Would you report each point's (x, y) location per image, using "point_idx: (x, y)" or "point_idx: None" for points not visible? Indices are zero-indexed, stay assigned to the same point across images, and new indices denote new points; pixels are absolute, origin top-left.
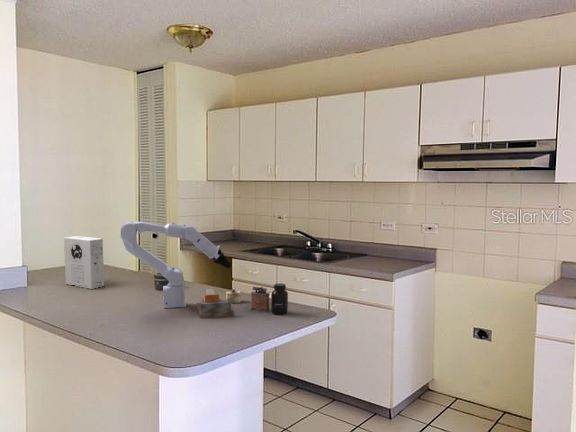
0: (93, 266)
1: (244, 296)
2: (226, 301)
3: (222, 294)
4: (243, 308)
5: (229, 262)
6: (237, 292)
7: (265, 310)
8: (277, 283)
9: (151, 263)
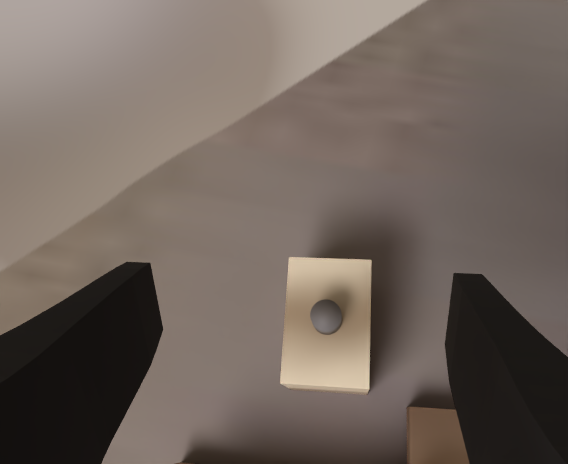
0: None
1: (191, 220)
2: (420, 410)
3: None
4: (563, 296)
5: (507, 301)
6: (346, 283)
7: None
8: None
9: None
